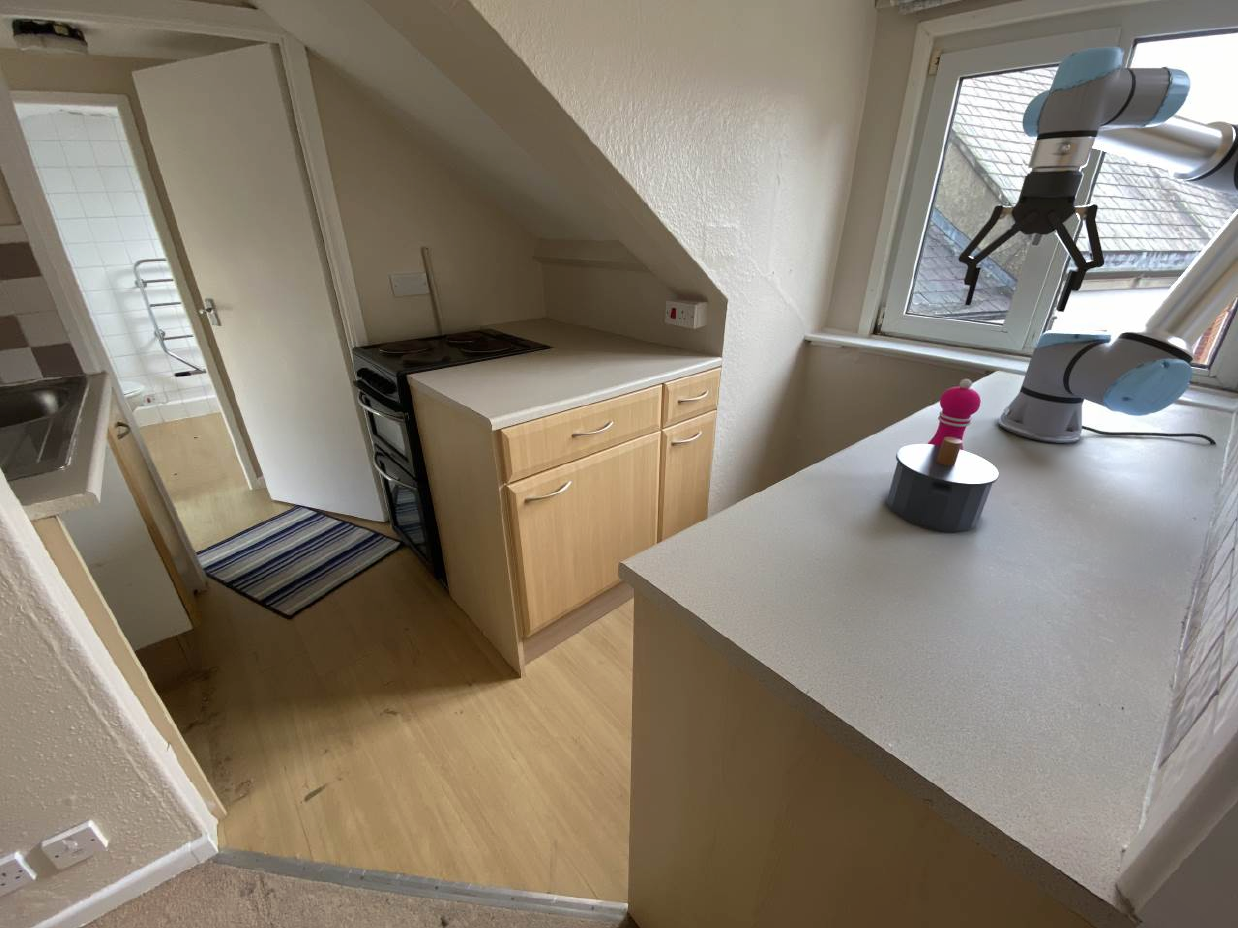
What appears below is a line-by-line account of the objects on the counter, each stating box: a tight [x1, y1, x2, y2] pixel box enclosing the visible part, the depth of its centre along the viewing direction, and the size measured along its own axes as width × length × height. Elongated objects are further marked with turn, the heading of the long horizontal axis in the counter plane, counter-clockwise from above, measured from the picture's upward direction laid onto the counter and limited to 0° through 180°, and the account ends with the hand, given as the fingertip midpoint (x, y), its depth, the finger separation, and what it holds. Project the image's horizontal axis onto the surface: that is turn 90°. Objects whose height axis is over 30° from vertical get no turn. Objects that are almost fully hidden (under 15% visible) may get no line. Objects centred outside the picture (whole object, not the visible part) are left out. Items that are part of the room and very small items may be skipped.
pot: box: [886, 461, 993, 533], centre depth 88 cm, size 14×19×8 cm
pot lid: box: [895, 437, 1000, 487], centre depth 85 cm, size 15×15×5 cm
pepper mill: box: [926, 378, 982, 451], centre depth 95 cm, size 7×7×20 cm
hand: (1012, 307), depth 94 cm, fingers open, 13 cm apart
